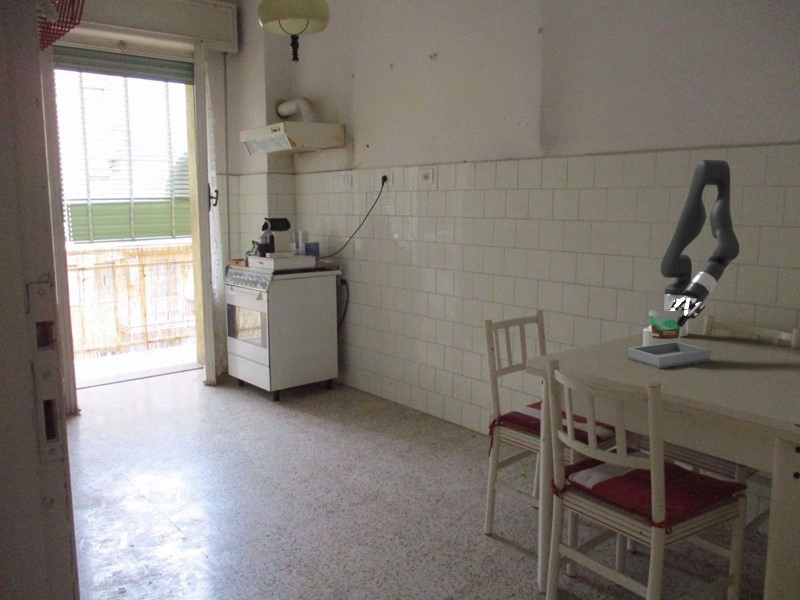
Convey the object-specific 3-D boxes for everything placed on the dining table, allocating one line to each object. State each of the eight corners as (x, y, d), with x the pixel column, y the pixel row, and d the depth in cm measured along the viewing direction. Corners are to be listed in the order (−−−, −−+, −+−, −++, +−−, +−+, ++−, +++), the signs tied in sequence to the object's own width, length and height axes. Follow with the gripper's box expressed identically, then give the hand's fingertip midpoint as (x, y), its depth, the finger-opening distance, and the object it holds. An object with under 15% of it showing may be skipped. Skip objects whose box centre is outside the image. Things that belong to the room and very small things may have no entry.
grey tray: (627, 359, 240) (627, 348, 240) (676, 352, 248) (676, 341, 247) (659, 368, 226) (659, 357, 225) (709, 361, 233) (710, 349, 233)
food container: (658, 340, 231) (658, 312, 230) (648, 337, 237) (648, 309, 236) (690, 337, 233) (690, 309, 232) (679, 334, 239) (680, 307, 238)
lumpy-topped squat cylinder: (681, 350, 250) (682, 328, 249) (644, 350, 253) (645, 327, 252) (676, 344, 260) (676, 322, 259) (641, 344, 263) (641, 322, 262)
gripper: (679, 279, 243) (652, 314, 241) (710, 282, 230) (682, 320, 228) (690, 292, 246) (664, 327, 243) (721, 296, 233) (694, 334, 230)
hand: (672, 324), depth 236 cm, fingers closed on food container, 5 cm apart
